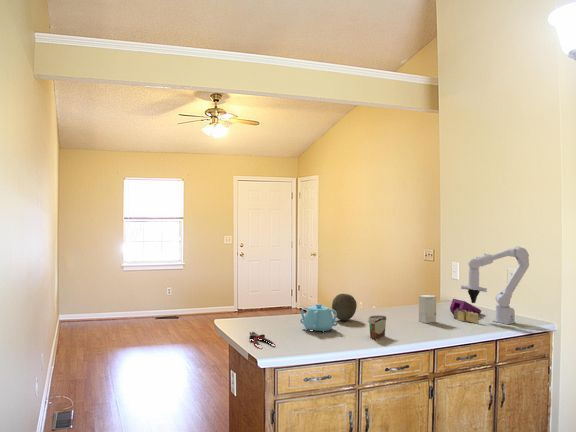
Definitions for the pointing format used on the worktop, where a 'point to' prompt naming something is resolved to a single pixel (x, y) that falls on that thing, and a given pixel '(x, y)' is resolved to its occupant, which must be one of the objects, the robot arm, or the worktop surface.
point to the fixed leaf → (457, 313)
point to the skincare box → (427, 308)
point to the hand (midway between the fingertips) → (473, 302)
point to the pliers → (255, 336)
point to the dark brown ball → (344, 306)
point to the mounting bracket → (463, 306)
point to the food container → (377, 326)
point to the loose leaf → (468, 316)
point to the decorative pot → (318, 318)
